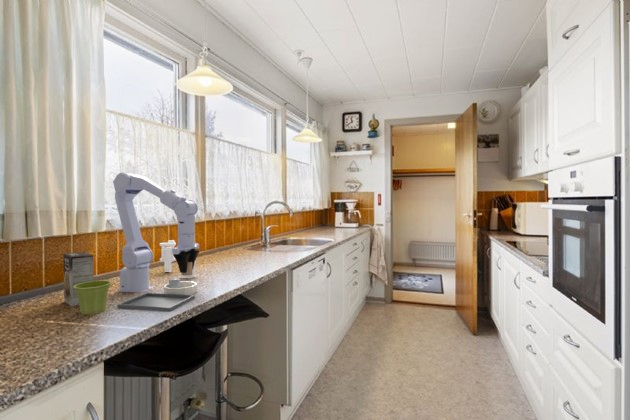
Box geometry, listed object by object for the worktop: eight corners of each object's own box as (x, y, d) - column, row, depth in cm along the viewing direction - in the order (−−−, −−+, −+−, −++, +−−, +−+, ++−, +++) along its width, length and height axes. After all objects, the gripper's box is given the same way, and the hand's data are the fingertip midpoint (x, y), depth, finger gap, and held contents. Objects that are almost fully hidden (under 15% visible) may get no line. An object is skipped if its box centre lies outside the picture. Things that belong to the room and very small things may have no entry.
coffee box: (63, 301, 112) (62, 253, 112) (85, 297, 117) (85, 251, 116) (71, 307, 106) (70, 256, 106) (94, 303, 111) (93, 254, 110)
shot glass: (190, 279, 145) (190, 263, 145) (176, 278, 147) (176, 262, 146) (199, 275, 152) (198, 260, 152) (185, 275, 153) (185, 259, 153)
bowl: (157, 296, 118) (157, 287, 118) (175, 288, 129) (175, 280, 129) (186, 298, 116) (186, 289, 116) (202, 290, 127) (202, 281, 127)
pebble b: (179, 275, 120) (179, 262, 120) (185, 273, 124) (185, 261, 124) (188, 275, 120) (188, 263, 120) (194, 273, 123) (194, 261, 123)
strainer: (179, 271, 161) (179, 240, 161) (167, 274, 155) (167, 241, 155) (168, 270, 164) (168, 239, 164) (156, 272, 158) (156, 241, 158)
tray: (117, 309, 104) (117, 304, 104) (147, 296, 118) (147, 292, 118) (170, 312, 101) (170, 307, 101) (194, 299, 115) (194, 295, 115)
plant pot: (83, 320, 95) (82, 289, 95) (68, 314, 100) (67, 285, 100) (117, 311, 103) (117, 282, 103) (101, 305, 108) (101, 279, 108)
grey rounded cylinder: (167, 292, 121) (166, 280, 121) (171, 290, 125) (171, 278, 125) (177, 292, 121) (177, 280, 121) (181, 290, 125) (181, 278, 125)
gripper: (185, 236, 114) (185, 275, 114) (206, 232, 128) (206, 267, 128) (166, 235, 115) (166, 275, 115) (189, 231, 129) (189, 267, 130)
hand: (186, 271), depth 122 cm, fingers closed on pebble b, 4 cm apart
